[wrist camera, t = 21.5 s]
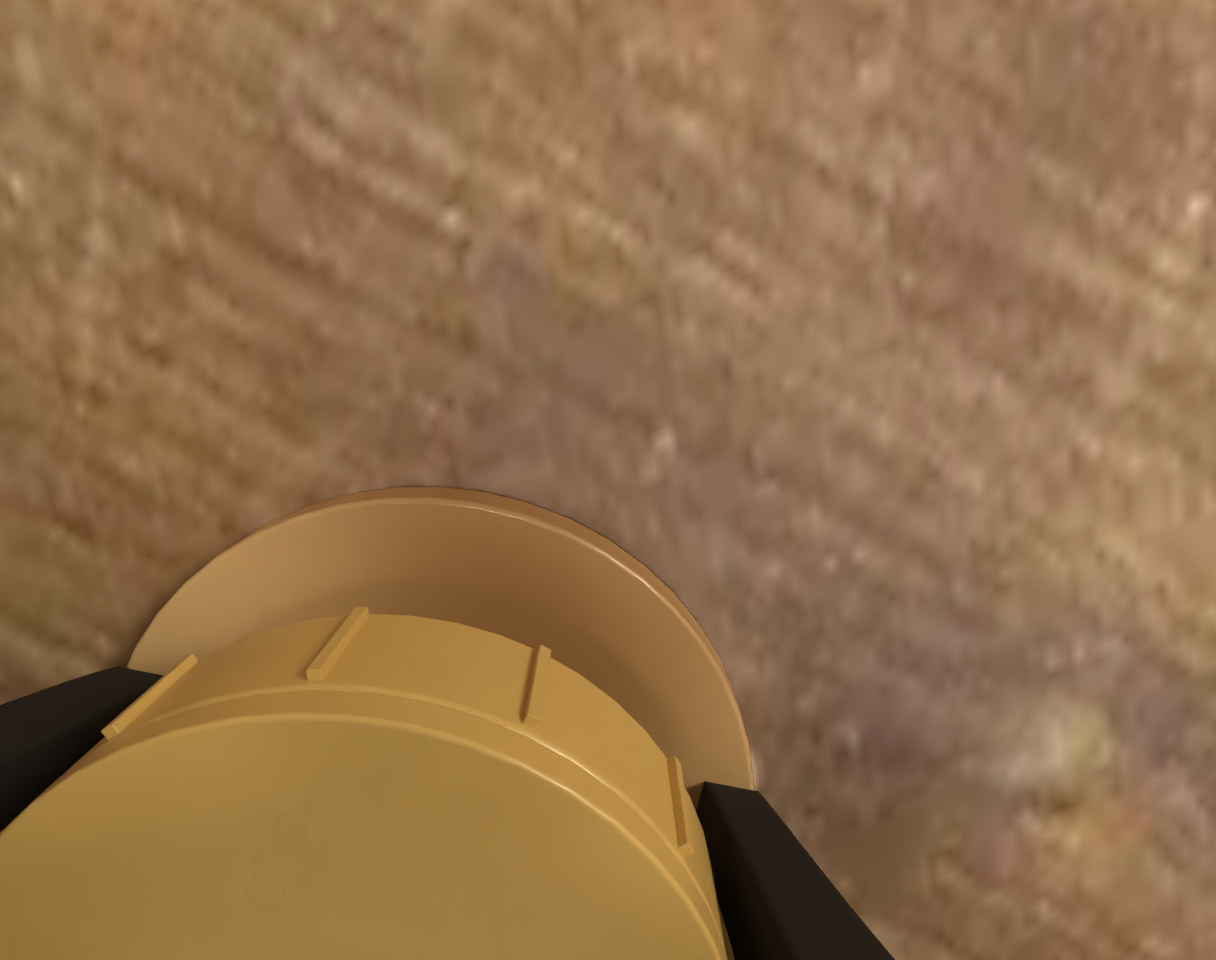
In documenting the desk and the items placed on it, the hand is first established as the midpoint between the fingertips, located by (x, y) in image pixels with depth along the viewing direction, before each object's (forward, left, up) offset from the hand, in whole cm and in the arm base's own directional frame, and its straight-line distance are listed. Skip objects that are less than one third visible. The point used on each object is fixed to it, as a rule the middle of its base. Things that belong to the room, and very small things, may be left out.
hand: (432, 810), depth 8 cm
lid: (0, 0, +3) cm, 3 cm away
